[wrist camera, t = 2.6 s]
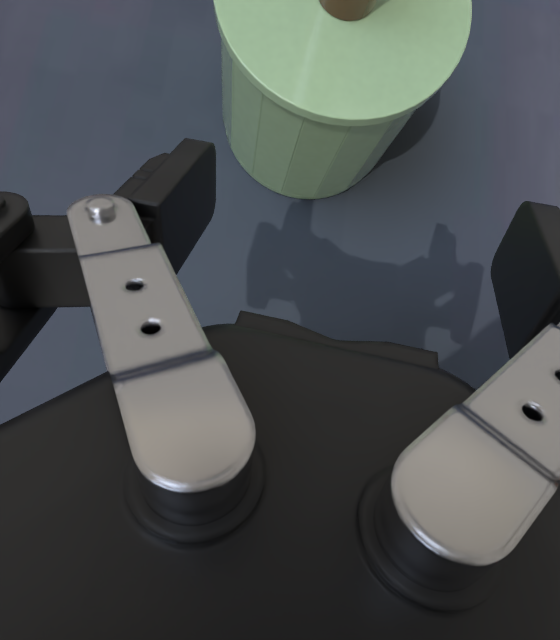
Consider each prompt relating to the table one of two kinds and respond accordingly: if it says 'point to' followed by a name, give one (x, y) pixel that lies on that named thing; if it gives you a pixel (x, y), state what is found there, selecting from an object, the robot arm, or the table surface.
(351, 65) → the lid
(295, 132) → the canister
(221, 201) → the table surface
